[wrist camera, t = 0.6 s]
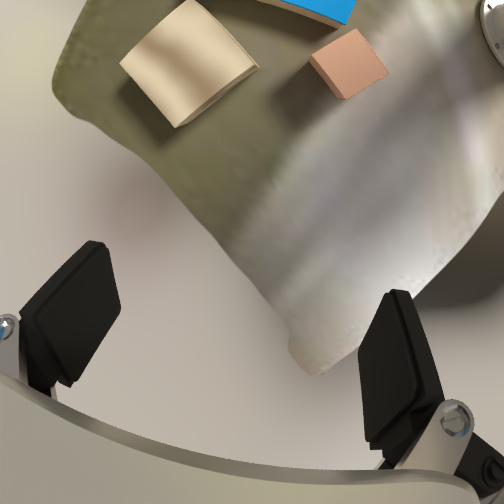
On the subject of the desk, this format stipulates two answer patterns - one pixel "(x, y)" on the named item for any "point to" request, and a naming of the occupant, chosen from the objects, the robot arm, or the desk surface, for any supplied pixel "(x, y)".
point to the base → (187, 63)
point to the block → (348, 65)
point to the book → (319, 9)
